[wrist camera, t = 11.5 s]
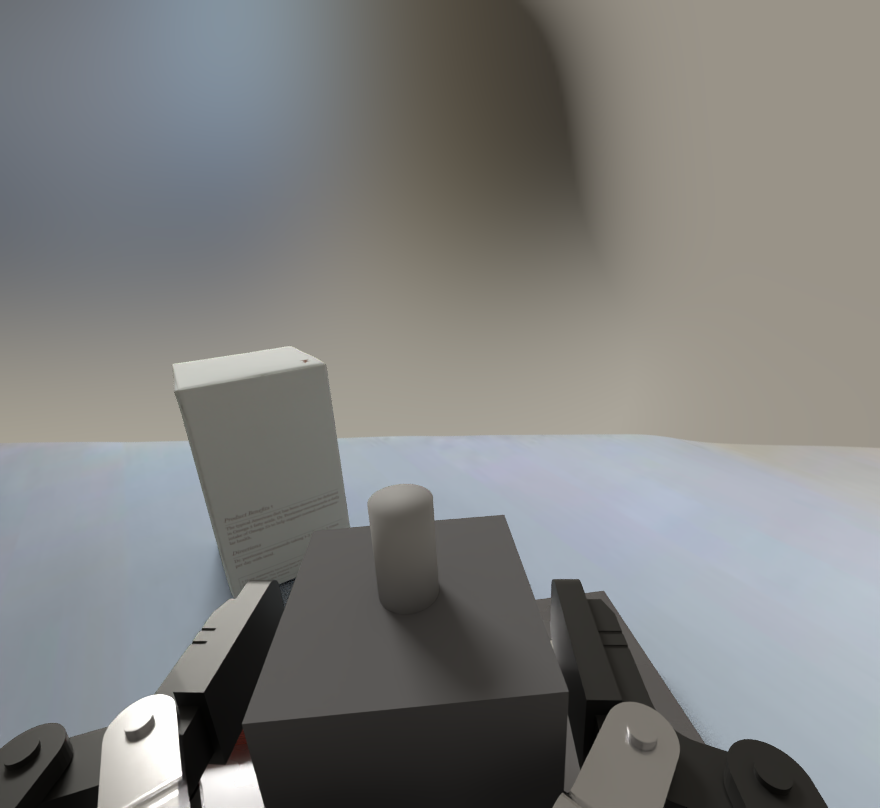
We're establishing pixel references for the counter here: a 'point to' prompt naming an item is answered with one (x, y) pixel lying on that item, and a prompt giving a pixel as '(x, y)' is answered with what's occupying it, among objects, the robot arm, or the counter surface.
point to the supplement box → (263, 457)
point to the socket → (240, 801)
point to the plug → (410, 671)
